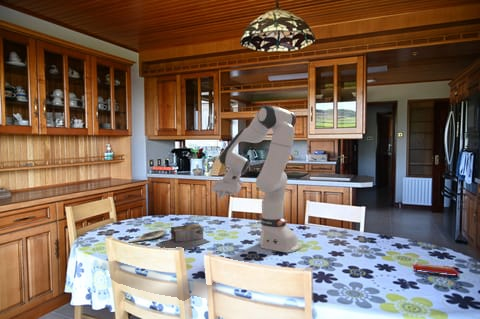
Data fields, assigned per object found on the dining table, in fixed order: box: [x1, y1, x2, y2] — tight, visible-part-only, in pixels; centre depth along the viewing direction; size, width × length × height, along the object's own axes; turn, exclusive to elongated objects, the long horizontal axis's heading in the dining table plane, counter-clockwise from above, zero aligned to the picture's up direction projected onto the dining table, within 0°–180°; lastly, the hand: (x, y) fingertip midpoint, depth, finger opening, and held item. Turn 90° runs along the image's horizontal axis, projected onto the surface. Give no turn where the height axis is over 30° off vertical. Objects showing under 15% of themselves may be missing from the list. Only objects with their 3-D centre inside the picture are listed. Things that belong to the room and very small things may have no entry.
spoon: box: [128, 229, 167, 244], centre depth 174 cm, size 35×11×2 cm, turn 139°
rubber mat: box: [155, 238, 211, 251], centre depth 169 cm, size 18×22×1 cm
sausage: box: [412, 262, 460, 275], centre depth 130 cm, size 16×4×3 cm, turn 69°
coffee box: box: [170, 223, 204, 242], centre depth 177 cm, size 9×6×16 cm
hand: (219, 198), depth 187 cm, fingers closed
